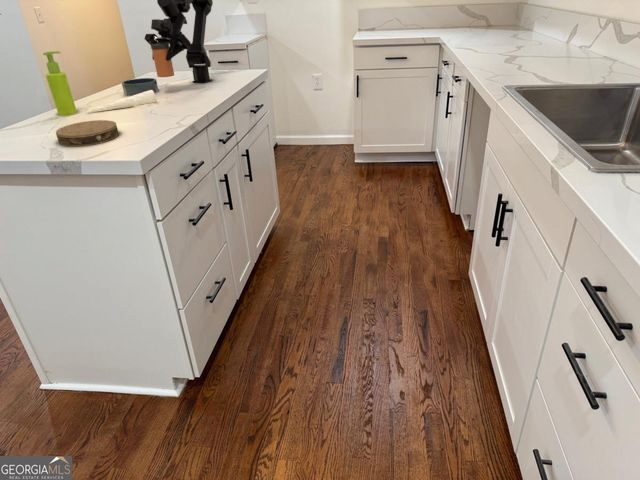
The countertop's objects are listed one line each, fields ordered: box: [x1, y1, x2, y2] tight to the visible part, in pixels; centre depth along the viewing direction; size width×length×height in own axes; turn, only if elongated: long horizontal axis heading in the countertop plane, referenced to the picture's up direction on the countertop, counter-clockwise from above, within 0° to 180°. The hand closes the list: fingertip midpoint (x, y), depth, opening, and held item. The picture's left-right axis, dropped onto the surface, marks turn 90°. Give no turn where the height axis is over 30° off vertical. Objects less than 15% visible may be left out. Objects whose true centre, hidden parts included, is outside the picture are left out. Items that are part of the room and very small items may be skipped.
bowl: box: [121, 77, 159, 97], centre depth 181 cm, size 13×13×5 cm
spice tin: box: [150, 43, 175, 78], centre depth 172 cm, size 7×7×12 cm
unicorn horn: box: [87, 90, 158, 113], centre depth 160 cm, size 5×24×5 cm, turn 118°
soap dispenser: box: [42, 50, 78, 116], centre depth 152 cm, size 6×7×20 cm
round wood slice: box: [55, 119, 120, 148], centre depth 128 cm, size 16×16×3 cm
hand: (160, 60), depth 171 cm, fingers closed on spice tin, 6 cm apart
